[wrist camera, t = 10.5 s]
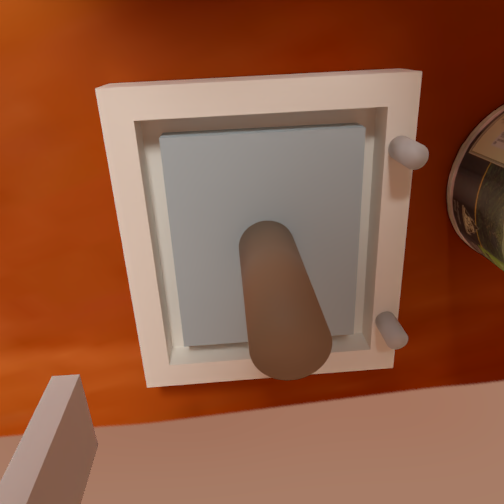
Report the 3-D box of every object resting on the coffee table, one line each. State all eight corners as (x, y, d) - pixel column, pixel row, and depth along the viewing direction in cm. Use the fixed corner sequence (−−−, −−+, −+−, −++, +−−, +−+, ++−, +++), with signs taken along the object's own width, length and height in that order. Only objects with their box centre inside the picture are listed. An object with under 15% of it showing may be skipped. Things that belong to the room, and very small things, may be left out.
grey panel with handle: (162, 132, 24) (123, 193, 14) (356, 122, 24) (450, 174, 14) (185, 331, 28) (169, 478, 19) (346, 319, 29) (411, 457, 19)
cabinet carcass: (109, 83, 24) (83, 92, 19) (399, 68, 24) (441, 73, 20) (153, 356, 30) (142, 411, 26) (377, 339, 31) (405, 390, 27)
